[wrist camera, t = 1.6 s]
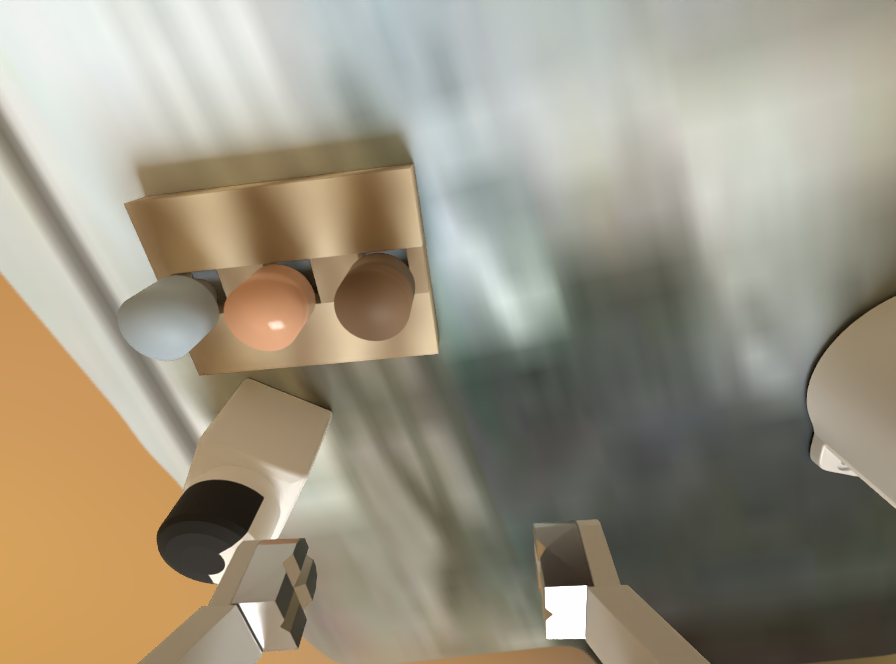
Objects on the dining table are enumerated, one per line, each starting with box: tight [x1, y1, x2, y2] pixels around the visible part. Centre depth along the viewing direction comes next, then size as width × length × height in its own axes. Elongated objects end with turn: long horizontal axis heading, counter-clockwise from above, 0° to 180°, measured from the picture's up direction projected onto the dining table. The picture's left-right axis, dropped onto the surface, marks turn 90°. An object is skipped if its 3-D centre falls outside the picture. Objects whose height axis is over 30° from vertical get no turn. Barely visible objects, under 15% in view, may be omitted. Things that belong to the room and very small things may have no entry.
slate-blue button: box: [117, 275, 219, 361], centre depth 27 cm, size 4×4×5 cm
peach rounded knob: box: [224, 264, 315, 351], centre depth 26 cm, size 4×4×5 cm
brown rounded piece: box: [334, 253, 415, 341], centre depth 26 cm, size 4×4×5 cm
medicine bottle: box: [157, 378, 332, 584], centre depth 31 cm, size 7×7×12 cm
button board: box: [124, 163, 439, 376], centre depth 30 cm, size 17×12×2 cm
